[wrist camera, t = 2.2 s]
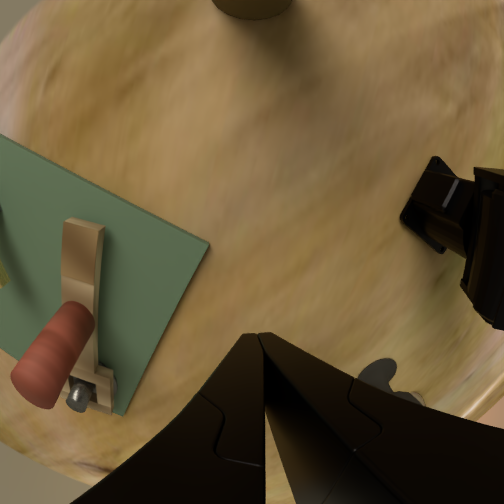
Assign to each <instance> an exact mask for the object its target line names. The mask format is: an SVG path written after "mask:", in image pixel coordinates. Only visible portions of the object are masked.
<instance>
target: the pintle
mask: <svg viewBox="0 0 504 504" xmlns="http://www.w3.org/2000/svg"><path fill="white" fill-rule="evenodd" d="M98 365H99V366H103V367H106V368H108V367H107V366H106V365H105V364H103V363H102V362H101V361H99V360H98ZM73 380H74V384H73V386H72V388H71V390H70V393H69V395H68V397H67V399H66V403H67V405H68V406H69V407H70V408H71V409H73V410H74V411H77V412H80V413H83V412H85V410H86V408H87V405H88V403H89V400H90V398H91V395H92V393H93V392H94V393H97V390H96V384H94V383H91V382H88V381H85V380H82V379H80V378H77V377H74V376H73ZM113 388H114V396H115V395H116V393H117V389H118V383H117V380H116V378H115V376H114V374H113Z"/></svg>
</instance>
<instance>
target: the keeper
mask: <svg viewBox="0 0 504 504" xmlns="http://www.w3.org/2000/svg"><path fill="white" fill-rule="evenodd" d="M1 212H2V208H1V205H0V213H1ZM10 281H11V280H10V278H9V276H8V274H7V272H6V270H5V268H4V266H3V264H2V262H1V259H0V289H1V288H2V287H4V286H5V285H6V284H7V283H8V282H10Z"/></svg>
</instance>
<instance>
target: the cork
mask: <svg viewBox="0 0 504 504" xmlns="http://www.w3.org/2000/svg"><path fill="white" fill-rule="evenodd" d="M212 1H213V2H214V4H215V5H216V6H217V7H218V8H219V9H221V10H222V11H224V12H225V13H226V14H228V15H231V16H234V17H237V18H240V19H249V20H259V19H267V18H270V17H273V16H276V15H279V14H280V13H281V12H283V11H284V10H285V9H287V8H288V6H289V5H290V3H291V1H292V0H212Z"/></svg>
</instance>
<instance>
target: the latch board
mask: <svg viewBox="0 0 504 504" xmlns="http://www.w3.org/2000/svg"><path fill="white" fill-rule="evenodd" d="M0 205H1V208H2V212H1V213H0V259H1V262H2V264H3V266H4V268H5V270H6V272H7V274H8V276H9V278H10V280H11V281H10V282H8V283H7V284H6V285H5V286H4V287H2V288H1V289H0V348H1V349H3V350H4V351H5V352H7V353H8V354H9V355H11V356H12V357H14V358H15V359H17V360H18V361H19V360H20V359H21V358H22V356H23V355H24V353H25V352H26V351H27V349H28V348H29V347H30V345H31V344H32V342H33V341H34V340H35V339H36V337H37V336H38V335H39V333H40V332H41V331H42V329H43V328H44V327H45V326H46V324H47V323H48V322H49V321H50V319H51V318H52V317H53V316H54V314H55V313H56V312H57V311H58V309H59V308H60V307H61V306H62V296H61V249H62V233H63V222H64V221H65V220H67V219H69V218H71V217H75V218H78V219H82V220H86V221H90V222H93V223H97V224H101V225H105V226H106V227H105V234H104V242H103V251H102V260H101V271H100V285H99V302H98V360H99V361H101V362H102V363H103V364H105V365H106V366H107V367H108V368H109V369H112V370H113V374H114V376H115V378H116V380H117V383H118V389H117V393H116V395H115V396H114V409H113V413H116V414H118V415H120V416H123V415H124V413H125V411H126V409H127V406H128V404H129V402H130V400H131V398H132V396H133V394H134V391H135V389H136V387H137V385H138V383H139V381H140V379H141V377H142V374H143V372H144V370H145V368H146V366H147V364H148V362H149V360H150V358H151V356H152V354H153V352H154V350H155V348H156V346H157V344H158V342H159V340H160V338H161V336H162V334H163V332H164V330H165V328H166V326H167V324H168V322H169V320H170V318H171V316H172V314H173V312H174V310H175V308H176V306H177V304H178V302H179V300H180V298H181V296H182V294H183V293H184V291H185V289H186V287H187V285H188V283H189V281H190V279H191V277H192V275H193V274H194V272H195V270H196V268H197V266H198V264H199V262H200V261H201V259H202V257H203V255H204V253H205V251H206V249H207V248H208V246H209V242H207V241H205V240H203V239H201V238H199V237H197V236H195V235H193V234H191V233H189V232H187V231H185V230H183V229H181V228H179V227H177V226H175V225H173V224H171V223H169V222H167V221H165V220H163V219H161V218H160V217H158V216H156V215H154V214H152V213H150V212H148V211H146V210H144V209H142V208H140V207H138V206H136V205H134V204H132V203H130V202H128V201H127V200H125V199H123V198H121V197H119V196H117V195H115V194H113V193H111V192H109V191H107V190H105V189H103V188H102V187H100V186H98V185H96V184H94V183H92V182H90V181H88V180H86V179H84V178H82V177H81V176H79V175H77V174H75V173H73V172H71V171H69V170H67V169H65V168H63V167H62V166H60V165H58V164H56V163H54V162H52V161H50V160H48V159H47V158H45V157H43V156H41V155H39V154H37V153H35V152H33V151H32V150H30V149H28V148H26V147H24V146H22V145H20V144H18V143H17V142H15V141H13V140H11V139H9V138H7V137H6V136H4V135H2V134H0Z"/></svg>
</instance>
